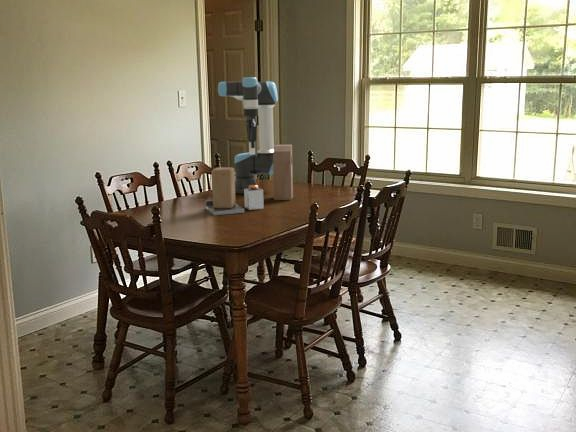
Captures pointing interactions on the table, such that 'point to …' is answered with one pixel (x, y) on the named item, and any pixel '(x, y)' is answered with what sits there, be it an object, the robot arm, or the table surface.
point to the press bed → (223, 209)
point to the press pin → (253, 187)
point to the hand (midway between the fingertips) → (252, 154)
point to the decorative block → (282, 172)
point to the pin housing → (254, 198)
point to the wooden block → (223, 187)
